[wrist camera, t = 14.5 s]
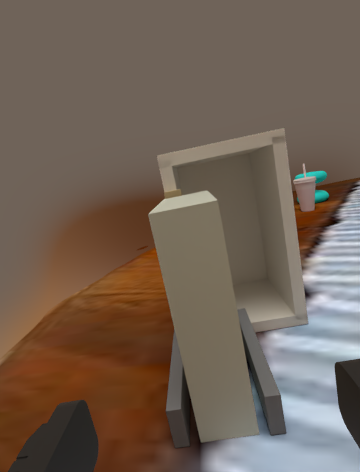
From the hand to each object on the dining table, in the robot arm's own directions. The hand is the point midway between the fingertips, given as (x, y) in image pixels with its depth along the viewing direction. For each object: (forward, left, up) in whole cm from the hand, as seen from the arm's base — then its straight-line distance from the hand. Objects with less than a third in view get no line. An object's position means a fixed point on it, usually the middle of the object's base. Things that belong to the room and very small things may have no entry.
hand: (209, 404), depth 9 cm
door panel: (0, -13, -11) cm, 17 cm away
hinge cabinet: (-3, -20, -11) cm, 23 cm away
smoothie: (-34, -80, -11) cm, 88 cm away
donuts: (-41, -93, -11) cm, 102 cm away
